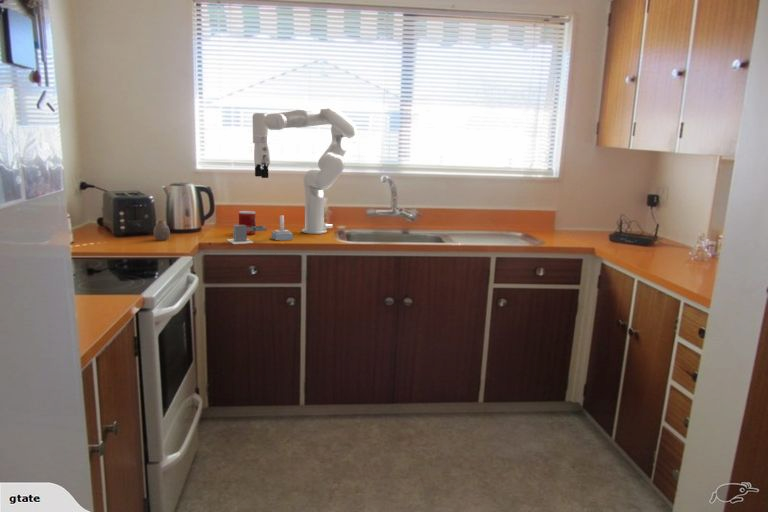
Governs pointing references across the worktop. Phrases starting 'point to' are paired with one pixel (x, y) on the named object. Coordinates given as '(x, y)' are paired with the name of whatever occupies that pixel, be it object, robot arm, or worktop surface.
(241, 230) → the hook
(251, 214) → the canned food
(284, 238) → the grey joystick
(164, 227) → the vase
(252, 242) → the mat
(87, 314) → the worktop surface
